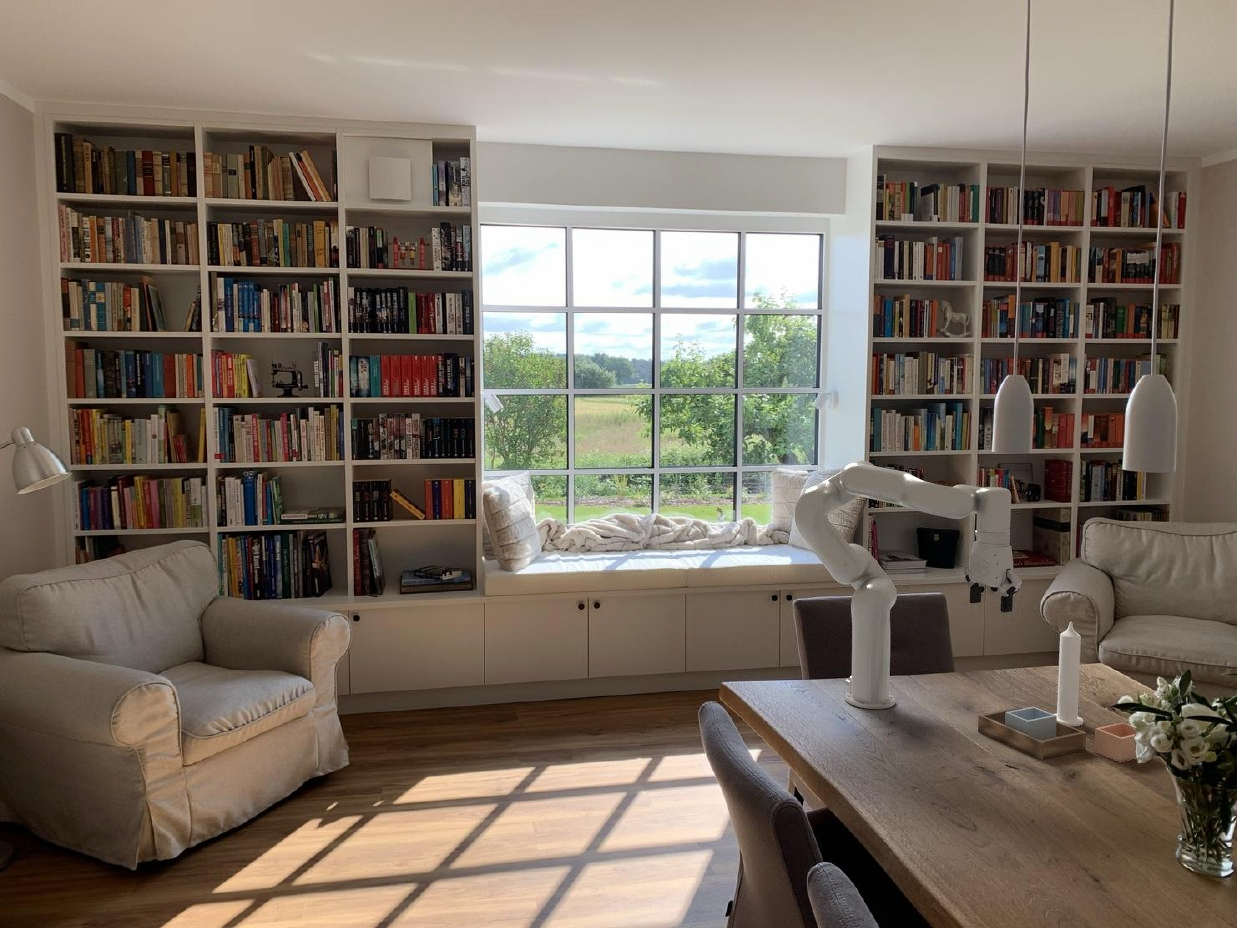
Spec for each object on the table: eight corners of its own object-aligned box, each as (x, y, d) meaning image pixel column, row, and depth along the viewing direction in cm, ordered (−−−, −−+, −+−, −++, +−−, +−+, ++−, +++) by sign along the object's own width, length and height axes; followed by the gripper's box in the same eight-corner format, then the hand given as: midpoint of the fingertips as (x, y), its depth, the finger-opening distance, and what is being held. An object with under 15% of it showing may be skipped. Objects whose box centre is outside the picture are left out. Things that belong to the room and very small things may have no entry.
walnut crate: (977, 731, 213) (978, 715, 213) (1020, 722, 219) (1021, 706, 219) (1040, 760, 197) (1041, 742, 197) (1085, 749, 203) (1086, 732, 202)
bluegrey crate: (1004, 735, 209) (1005, 712, 209) (1032, 729, 213) (1033, 706, 212) (1027, 745, 203) (1028, 721, 203) (1055, 738, 207) (1056, 715, 206)
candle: (1076, 728, 215) (1080, 627, 213) (1046, 720, 220) (1050, 621, 218) (1087, 721, 219) (1092, 621, 217) (1058, 713, 225) (1062, 616, 223)
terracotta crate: (1093, 752, 201) (1094, 728, 201) (1121, 745, 205) (1122, 722, 204) (1120, 763, 195) (1121, 738, 195) (1148, 756, 199) (1149, 732, 198)
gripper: (954, 533, 224) (952, 601, 225) (1010, 545, 208) (1007, 617, 209) (977, 531, 227) (975, 598, 228) (1033, 542, 211) (1030, 613, 212)
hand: (990, 607), depth 219 cm, fingers open, 9 cm apart
